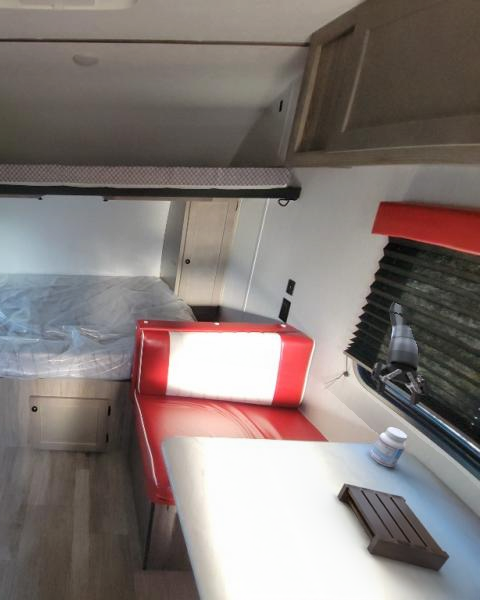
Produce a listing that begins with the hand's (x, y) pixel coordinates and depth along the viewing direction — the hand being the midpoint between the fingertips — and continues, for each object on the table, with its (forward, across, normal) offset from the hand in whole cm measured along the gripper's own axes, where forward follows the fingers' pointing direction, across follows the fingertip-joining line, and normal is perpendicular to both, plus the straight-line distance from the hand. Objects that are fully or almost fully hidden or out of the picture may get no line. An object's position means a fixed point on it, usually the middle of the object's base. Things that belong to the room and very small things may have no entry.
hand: (396, 399), depth 108 cm
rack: (+40, -8, -19) cm, 45 cm away
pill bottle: (+20, 0, +3) cm, 20 cm away
